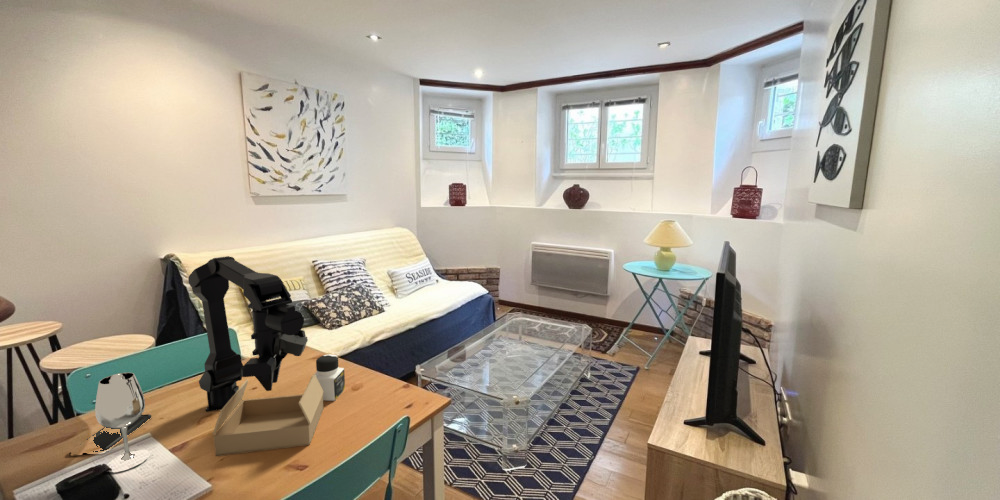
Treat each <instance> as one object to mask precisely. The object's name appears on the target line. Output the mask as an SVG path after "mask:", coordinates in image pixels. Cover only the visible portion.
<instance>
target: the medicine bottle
mask: <svg viewBox="0 0 1000 500" xmlns="http://www.w3.org/2000/svg"><path fill="white" fill-rule="evenodd" d="M315 365H316V366H315V368H316V372H315V373H314V374H315V375H316V377H317V379H318V381H319V383H320V385H321V388H322V390H323V402H324V401H329V402H330V401H331V402H333V401H334V402H335V401H337V399H338V398H339V397H340V395H341V394H342V393H343V392H344V391H345V390H346V382H345V381H346V377H345V367H339V357H338V355H335V354H332V353H331V354H330V353H329V354H323V355H321V356H319V357H318V358H316V360H315ZM311 378H312V376H311V377H310V379H311Z"/></svg>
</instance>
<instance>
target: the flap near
mask: <svg viewBox="0 0 1000 500" xmlns="http://www.w3.org/2000/svg"><path fill="white" fill-rule="evenodd" d="M248 382H249V379H248V378H247V379H246V380H245V381H244V382H243V383H242V384H241V385H240V387H239V389H238V390H237V392H236V393H235V394H234V395H233V396H232V398H231V399H230V400H229V401H228V402H227V403H226V405H225V406H224V407H223V408H222V409H221V410H219V413H218V417H217V420H216V422H215V426H214V429H213V432H212V435H213V436H214V435H215V434H216V433H217V432H218V430H219V429H220V428H221V426H222V425H223V424H224V423H225V421H226V420H227V419H228V418H229V416H230V415H231V414H232V412H233V411H234V410H235V409H236V407H237V406H238V405H239V403H240V402H241V401H242V400H243V397H244V394H245V391H246V388H247V385H248Z"/></svg>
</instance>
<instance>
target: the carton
mask: <svg viewBox="0 0 1000 500" xmlns="http://www.w3.org/2000/svg"><path fill="white" fill-rule="evenodd" d="M302 395H303V394H301V393H300V394H292V395H280V396H271V397H269V396H268V397H261V398H250V399H242V400H241V401H240V403H239V404H238V405H237V407H236V408H235V409H234V410H233V412H232V413H231V414H230V415H229V417H228V418H227V419H226V421H225V422H224V423H223V424H222V426H221V427H220V428H219V429H218V431H217V432H216V433H215V435H214V434H213V442H214V444H213V445H214V453H215V455H214V456H215V457H221V456H229V455H238V454H246V453H255V452H261V451H262V452H264V451H271V450H278V449H287V448H295V447H304V446H310V445H311V443H312V441H313V440H312V439H313V438H314V435H315V431H316V430H317V427H318V425H319V421H320V420H321V419H320V418H321V417H322V413H323V411H324V400H323V395H322V397H321V400H320V402H319V404H318V407H317V409H316V412H315V414H314V417H313V419H312V422H311V424H309V423H308V421H307V419H306V417H305V415H304V413H303V411H302V409H301V407H300V406H299V404H298V403H299V401H300V399H301V397H302Z"/></svg>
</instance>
